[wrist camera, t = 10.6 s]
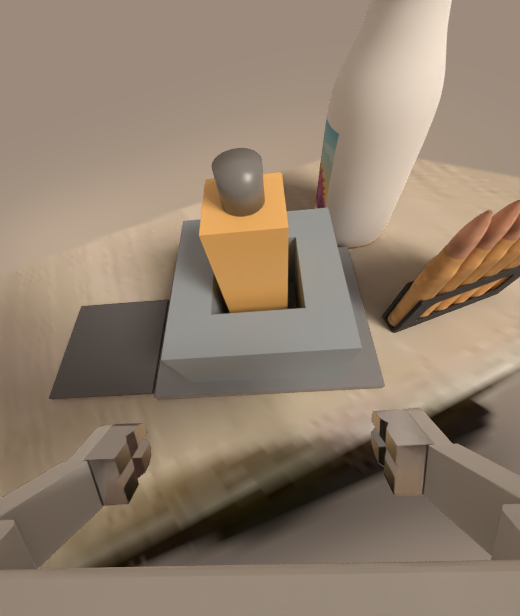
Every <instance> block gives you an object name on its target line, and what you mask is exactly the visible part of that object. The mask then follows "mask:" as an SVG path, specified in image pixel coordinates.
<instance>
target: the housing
mask: <svg viewBox="0 0 520 616" xmlns="http://www.w3.org/2000/svg"><path fill="white" fill-rule="evenodd" d="M287 219H288V227H289V232H288V305H287V309H283V310H269V311H255V312H241V313H230V312H229V309H228V307H227V304H226V302H225V299H224V297H223V294H222V292H221V289H220V287H219V284H218V282H217V279H216V277H215V274H214V272H213V269H212V267H211V265H210V262H209V260H208V257H207V255H206V252H205V250H204V247H203V245H202V242H201V240H200V237H199V230H200V221H201V219H200V220H189V221H183V225H182V232H181V238H180V244H179V250H178V256H177V261H176V266H175V272H174V278H173V284H172V291H171V297H170V303H169V309H168V315H167V321H166V328H165V334H164V340H163V346H162V352H161V358H160V364H159V371H158V377H157V383H156V389H155V395H154V398H156V399H158V400H159V399H178V398H197V397H217V396H236V395H255V394H275V393H294V392H313V391H332V390H352V389H371V388H382V387H384V386H385V384H384V381H383V377H382V373H381V369H380V366H379V362H378V358H377V354H376V351H375V347H374V343H373V340H372V336H371V332H370V328H369V325H368V321H367V317H366V313H365V310H364V306H363V302H362V298H361V295H360V291H359V287H358V283H357V280H356V276H355V272H354V268H353V265H352V261H351V257H350V253H349V250H348V247H338V246H337V242H336V238H335V234H334V230H333V226H332V221H331V217H330V213H329V209H328V208H317V209H307V210H296V211H287Z"/></svg>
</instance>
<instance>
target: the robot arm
mask: <svg viewBox="0 0 520 616" xmlns="http://www.w3.org/2000/svg"><path fill="white" fill-rule="evenodd" d="M372 423H373V425H374V426H375V428H374V429H373V431H372V432H371V441H372V447H373V451H374V454H375V457H376V459H377V461H378V463H379V464H381V465H382V466H383V467H384V476H385V478H386V480H387V482H388V484H389V486H390V488H391V490H392V492H393V494H394V495H424V497H425V498H426V499H427V500H428V501H429V502H431V503H432V504H433V505H434V506H435V507H436V508H437V509H439V510H440V511H441V512H442V513H443V514H444V515H445V516H446V517H448V518H449V519H450V520H451V521H452V522H453V523H455V524H456V525H457V526H458V527H459V528H460V529H461V530H463V531H464V532H465V533H466V534H467V535H468V536H469V537H471V538H472V539H473V540H474V541H475V542H476V543H477V544H479V545H480V546H481V547H482V548H483V549H484V550H485V551H486V552H488V553H489V554H490V555H491V556H492V558H491V560H481V561H428V562H427V561H425V562H375V563H326V564H281V565H280V564H278V565H224V566H168V567H116V568H64V569H38V568H39V567H40V566H41V565H42V564H43V563H44V562H45V561H46V560H48V559H49V558H50V557H51V556H52V555H53V554H54V553H55V552H56V551H57V550H58V549H59V548H60V547H61V546H62V545H63V544H64V543H65V542H67V541H68V540H69V539H70V538H71V537H72V536H73V535H74V534H75V533H76V532H77V531H78V530H79V529H80V528H81V527H82V526H83V525H85V524H86V523H87V522H88V521H89V520H90V519H91V518H92V517H93V516H94V515H95V514H96V513H97V512H98V511H99V510H100V509H101V508H102V506H108V505H123V504H129V502H130V500H131V498H132V496H133V494H134V493H135V491H136V489H137V487H138V485H139V483H138V478H139V477H140V476H141V475H143V474H144V473H145V472H146V470H147V468H148V466H149V462H150V458H151V447H150V443H149V442H148V441H147V440H146V439H145V438H144V437H145V436H146V434H147V431H146V428H145V425H143V424H141V423H139V424H115V425H114V424H112V425H101V426H99V427H98V428H97V429H96V430H95V431H94V432H93V433H92V434H91V435H90V436H89V438H88V439H87V440H86V441H85V442H84V443H83V444H82V445H81V446H80V447H79V449H78V450H77V451H76V452H75V453H74V454H73V455H72V456H71V457H70V459H69V460H68V461H67V462H61V463H59V464H58V465H56V466H54V467H53V468H51V469H49V470H48V471H46V472H44V473H43V474H41V475H39V476H37V477H36V478H34V479H32V480H31V481H29V482H27V483H26V484H24V485H22V486H21V487H19V488H17V489H16V490H14V491H12V492H11V493H9V494H7V495H5V496H4V497H2V498H0V616H520V476H519V475H517V474H515V473H513V472H511V471H509V470H507V469H505V468H503V467H502V466H500V465H498V464H496V463H494V462H492V461H490V460H488V459H486V458H484V457H482V456H480V455H478V454H476V453H474V452H473V451H471V450H469V449H467V448H465V447H463V446H461V445H459V444H452V443H451V442H450V441H449V439H448V438H447V437H446V436H445V435H444V434H443V433H442V432H441V430H440V429H439V428H438V427H437V426H436V425H435V424H434V423H433V421H432V420H431V419H430V418H429V417H428V416H427V415H426V414H425V412H424V411H423V410H422V409H420V408H408V409H401V410H384V411H373V413H372Z"/></svg>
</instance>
